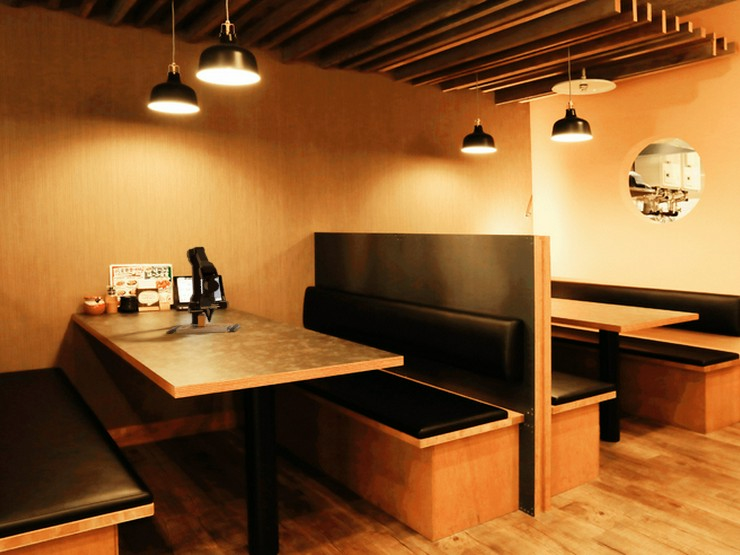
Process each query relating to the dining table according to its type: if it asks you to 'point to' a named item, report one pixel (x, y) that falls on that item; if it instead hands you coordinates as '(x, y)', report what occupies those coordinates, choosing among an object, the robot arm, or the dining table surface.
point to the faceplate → (204, 328)
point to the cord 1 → (173, 329)
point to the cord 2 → (235, 328)
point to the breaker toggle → (201, 320)
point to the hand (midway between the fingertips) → (209, 322)
